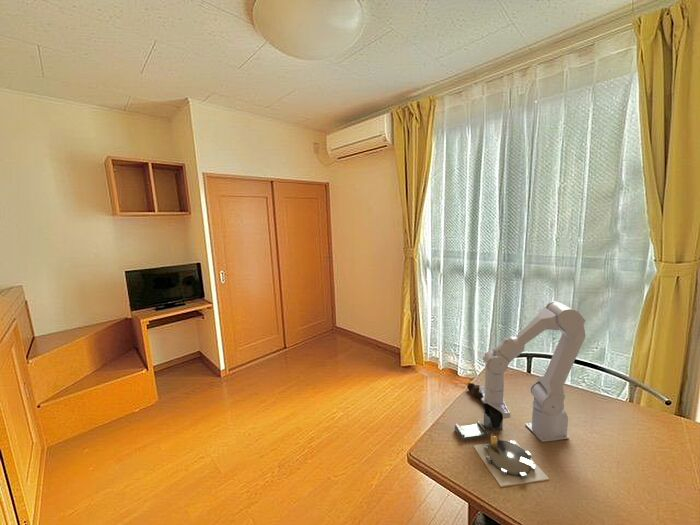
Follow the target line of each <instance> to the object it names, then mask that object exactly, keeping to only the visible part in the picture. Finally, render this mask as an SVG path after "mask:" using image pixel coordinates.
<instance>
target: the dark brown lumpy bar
mask: <svg viewBox="0 0 700 525" xmlns="http://www.w3.org/2000/svg"><path fill="white" fill-rule="evenodd" d="M466 387H467V390H468V391H470V393H471V394H472V396H473V397H474V398H475V399H479V400H480V399H481V398H483V395H482V393H480V392H479V387H482V386H481V385H479V384H475V383H472V382H469V383H468V384H467V385H466Z"/></svg>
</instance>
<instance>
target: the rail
mask: <svg viewBox="0 0 700 525" xmlns="http://www.w3.org/2000/svg"><path fill="white" fill-rule="evenodd" d="M454 432H455V433H456V435H457V436H458V438H459V439H460V441H461V442H470V441H475V440H476V441H478V440H484V439H488V438H489V431H488V430H487V428H486V427H485V426H484V423H482V422H481V421H480V420H478V421H477V423H472V424H471V423H470V424H464V425H459V424H458V423H454Z"/></svg>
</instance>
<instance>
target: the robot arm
mask: <svg viewBox="0 0 700 525" xmlns="http://www.w3.org/2000/svg"><path fill="white" fill-rule="evenodd" d="M585 323H586V319H585V318H584V317H583V316H582V314H581V313H580V312H579V311H578V310H577V309H573V308H572V307H570V306H568V305H566V304H565V303H564V302H562V301H561V300H560V301H559V300H553V301H550V302H548V303H547V304H546V305H545V306H544V307H542V308H541V309H540V311H539V312H538V313H537V315H536V316H534V318H533V319H532V320H531V321H530V322H529V323H528V324H527V325H526V326H525V327H524V328H523V329H522V330H521V331H520V332H519V333H518V334H516V335H513V336H512V335H511V336H507V337H504V338H503V339H502V342H501V343H499V345H497V346H496V347H495V348H492V349H491V350H488V351H487V352H486V353H484V355H483V357H482V358H483V361H484V363H485V368H484V369H485V371H484V386H483V385H482V386H481V387H479V392H480V393H482V395H483V398H481V399H479V400H480V402H481V405H482V407H483V410H484V412H485V411H490V413H491V417H492V425H493V427H494V428H498V427H500V424H501V422H502V420H504V419H511V412H510V410H509V409H508V406H507V405H506V402H505V400H504V392H505V391H504V389H505V388H504V387H505V386H504V385H505V372H507V370H508V366H509V364H510V363H511V362H512V361H514V359H515V358H517V357H519V356H520V355H521V354H522V353H523V352H525V350H526V348H525V347H526V346H525V345H526V344H528V343H529V342H531V341H532V340H533V339H535V338H537V336H539V335H541V334H542V333H543V332H545V331H546V330H548V331H549V330H550V331H560V332H561V336H560V338H559V339H558V340H559V341H558V342H557V345H556V346H555V347H556V348H555V349H554V351H553V354H552V356H551V359H550V361H549V364H548V366H547V368H546V370H545V373H544V375H542V376H539V377H537V379H536V381H535V382H534V383H532V385H531V387H530V393H531V395H532V396H533V400H532V412H531V413H532V414H531V422H529V423H528V422H527V423H525V424H524V425H525V426H526V427H527V428H528V429H529V430H530V432H532V434H534V436H536V438H537V439H539V440H540V442H542V443H545V442H553V441H560V440H561V441H562V440H567V439H569V438H570V437H569V435H568V426H569V425H568V423H569V416H568V414H567V412H566V410H565V404H564V401H565V399H566V394H565V389H564V386H565V383H566V381H567V379H568V376H569V375H570V372H571V370H572V367H573V366H574V363H575V360H576V359H577V357H578V354H579V353H580V350H581V348H582V346H583V343H584V342H585V339H586V337H587V336H586V331H585V325H584V324H585Z"/></svg>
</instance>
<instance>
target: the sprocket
mask: <svg viewBox="0 0 700 525" xmlns="http://www.w3.org/2000/svg"><path fill="white" fill-rule="evenodd" d="M498 437H499V436H498V435H497V434H495V433H492V434H491V435H490V444H489V445H487V444H488V443H484V444H485V446H484V450H485V451H487V452H488V456H486V461H487V462H488V464H491V463H492V464H493V465H494V466H495V467H496V468H497V469H498V470H500V471H501V474H503V475H505V476H506V475H507V474H508V475H511V476H518V477H520V478H521V479H526V477H527V474H528V473H529V472H530V471H532V472H535V465H534V464H532V461H531V460H530V458H531V459H532V454H531V452H530V451H529V450H524V449H523V447H522V446H520V447H519V446H518V445H516V442H517V441H516V442H513V441H511V440H502V439H500V440H499V438H498ZM508 441H510V442H508Z"/></svg>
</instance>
